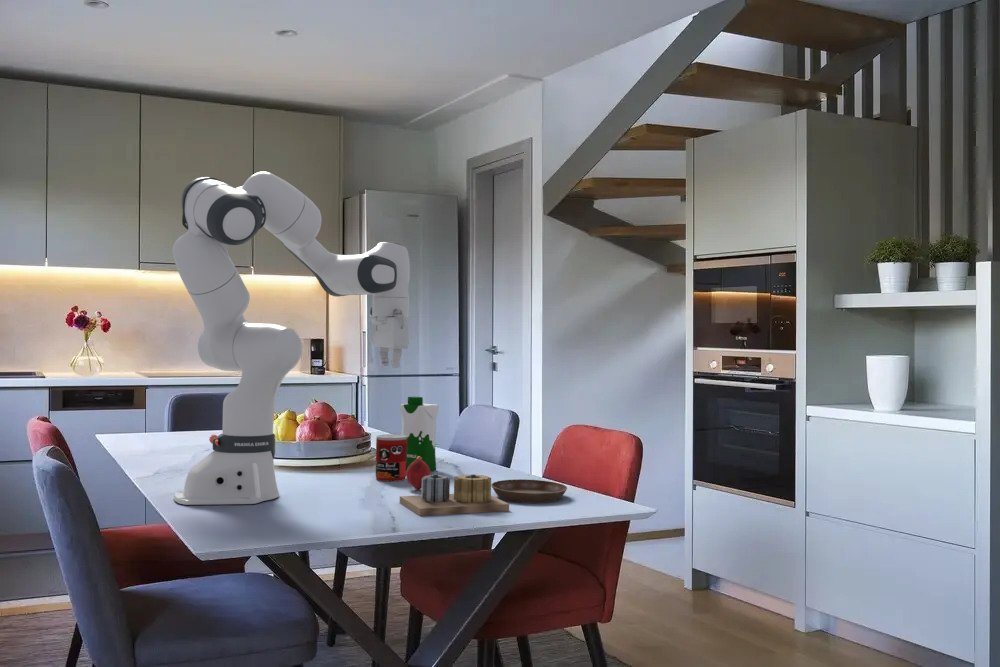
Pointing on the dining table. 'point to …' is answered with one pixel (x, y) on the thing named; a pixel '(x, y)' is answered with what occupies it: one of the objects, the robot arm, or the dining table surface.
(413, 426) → the milk carton
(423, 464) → the onion
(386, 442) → the canned food
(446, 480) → the steel gear
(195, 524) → the dining table surface
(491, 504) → the gear board
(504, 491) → the plant saucer
